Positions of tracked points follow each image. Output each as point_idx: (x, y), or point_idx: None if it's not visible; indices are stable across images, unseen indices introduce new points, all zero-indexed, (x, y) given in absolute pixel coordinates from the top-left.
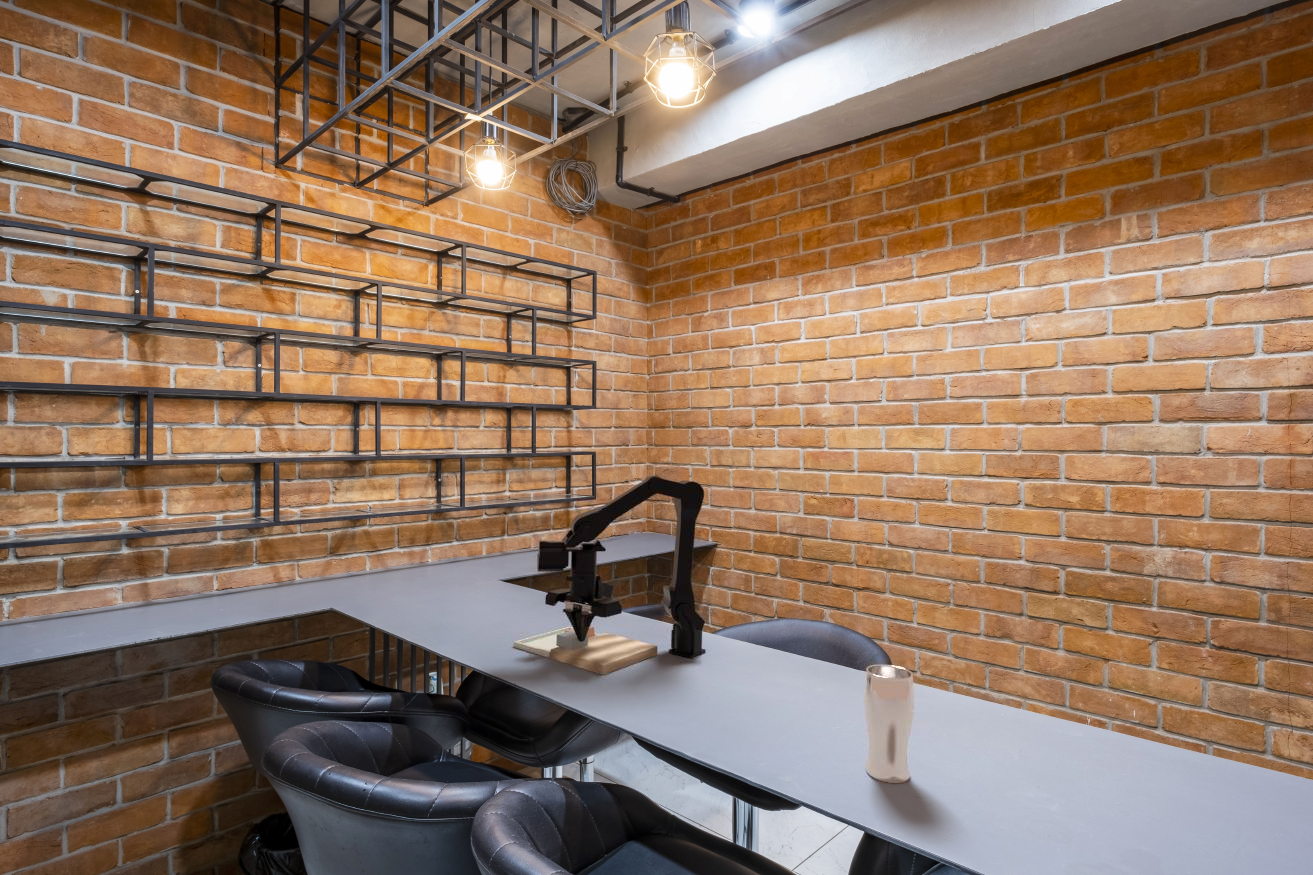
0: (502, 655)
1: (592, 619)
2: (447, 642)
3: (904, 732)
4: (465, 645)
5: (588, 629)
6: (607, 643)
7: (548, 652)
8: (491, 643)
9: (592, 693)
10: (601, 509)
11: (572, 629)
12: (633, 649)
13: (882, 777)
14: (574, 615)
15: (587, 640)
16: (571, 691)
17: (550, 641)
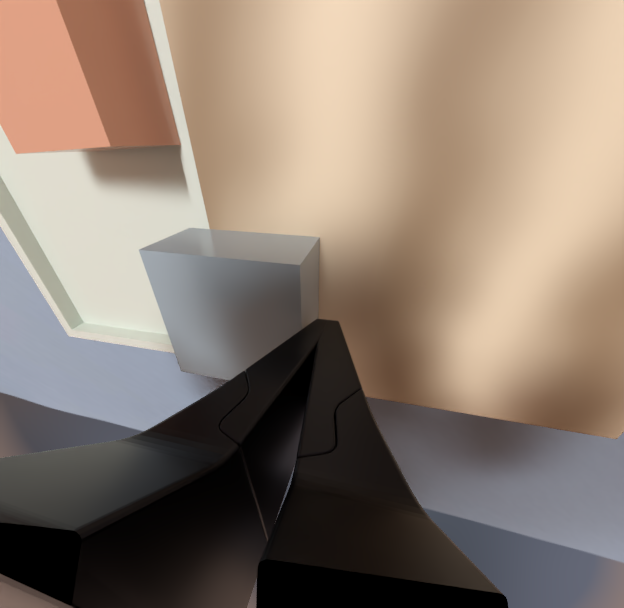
0: (154, 391)
1: (402, 481)
2: (9, 379)
3: None
4: (41, 376)
5: (356, 372)
6: (404, 65)
7: None
8: (36, 335)
9: (619, 517)
10: None
11: (5, 91)
12: None
13: None
14: (241, 593)
15: (311, 251)
16: (533, 514)
17: (72, 209)
